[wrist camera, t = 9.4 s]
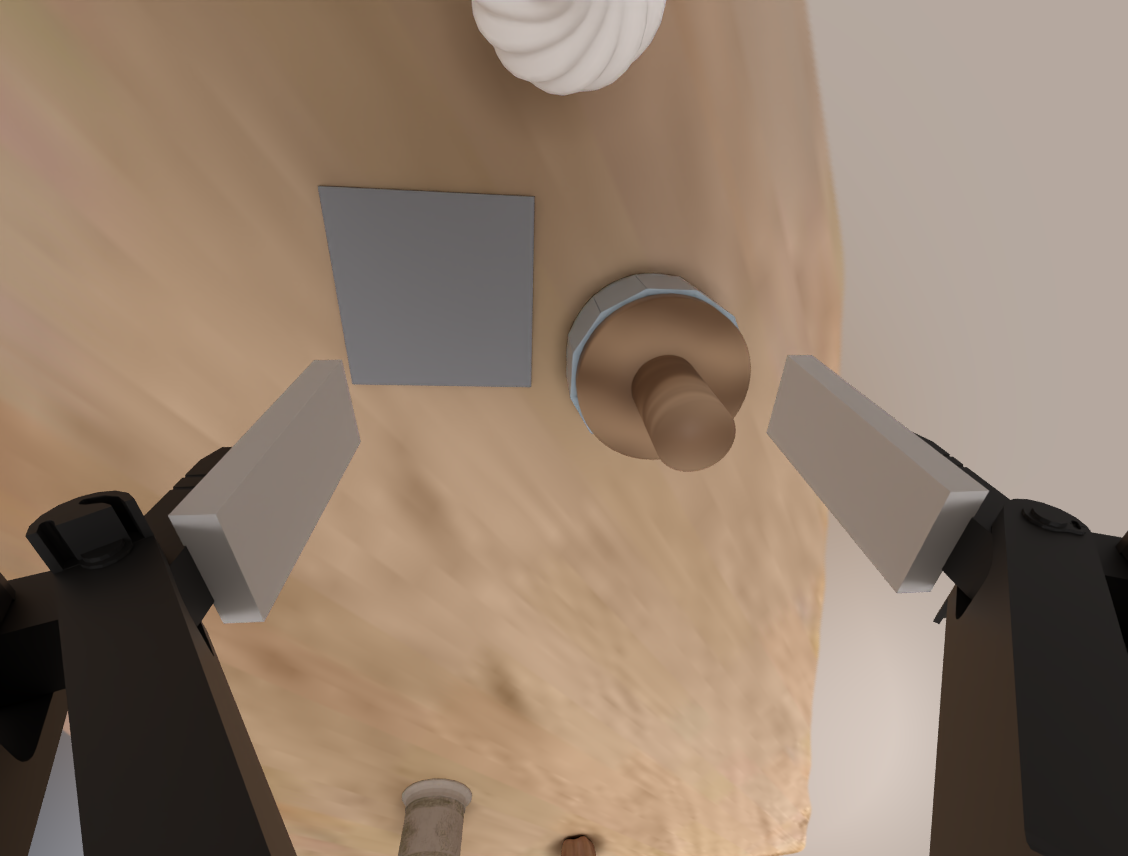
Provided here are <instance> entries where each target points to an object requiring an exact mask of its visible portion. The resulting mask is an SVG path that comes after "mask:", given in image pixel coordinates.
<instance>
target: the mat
mask: <svg viewBox="0 0 1128 856" xmlns="http://www.w3.org/2000/svg"><path fill="white" fill-rule="evenodd" d="M318 190H319V196H320V202H321V207H322V213H323V219H324V225H325V230H326V236H327V242H328V247H329V253H330V259H331V264H332V270H333V276H334V281H335V287H336V293H337V299H338V304H339V310H340V316H341V321H342V327H343V333H344V338H345V344H346V350H347V356H348V361H349V367H350V373H351V378H352V384H366V385H428V386H491V387H531V357H532V302H533V248H534V196H515V195H495V194H475V193H454V192H434V191H414V190H394V189H373V188H353V187H333V186H318Z"/></svg>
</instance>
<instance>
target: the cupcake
mask: <svg viewBox="0 0 1128 856" xmlns="http://www.w3.org/2000/svg"><path fill="white" fill-rule="evenodd" d="M561 856H596V853H595V849H594V845H593V843H592V842H591V841H590V840H588V839H587V838H586V837H585V836H581V837H579V838H577V839H566V840H565V841H564V843H563V846H562V853H561Z"/></svg>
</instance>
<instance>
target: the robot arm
mask: <svg viewBox="0 0 1128 856" xmlns="http://www.w3.org/2000/svg"><path fill="white" fill-rule="evenodd" d="M767 434H768V435H769V437H770V438H771V439H772V440H773V442H774V443H775V444H776V445H777V446H778V448H779V449H780V450H781V451H782V453H783V454H784V455H785V456H786V458H787V459H788V460H789V461H790V462H791V464H792V465H793V466H794V467H795V469H796V470H797V471H798V472H799V474H800V475H801V476H802V477H803V478H804V480H805V481H806V482H807V483H808V485H809V486H810V487H811V488H812V490H813V491H814V492H815V493H816V494H817V496H818V497H819V498H820V499H821V501H822V502H823V503H824V504H825V506H826V507H827V508H828V509H829V510H830V512H831V513H832V514H833V515H834V517H835V518H836V519H837V520H838V521H839V523H840V524H841V525H842V526H843V528H844V529H845V530H846V531H847V533H848V534H849V535H850V536H851V538H852V539H853V540H854V541H855V543H856V544H857V545H858V546H859V547H860V549H861V550H862V551H863V552H864V554H865V555H866V556H867V557H868V558H869V560H870V561H871V562H872V563H873V565H874V566H875V567H876V568H877V570H878V571H879V572H880V573H881V574H882V576H883V577H884V578H885V579H886V581H887V582H888V583H889V584H890V586H891V587H892V588H893V589H894V590H895V592H896V593H914V592H930V591H931V590H932V588H933V586H934V585H935V583H936V581H937V580H938V578H939V576H940V574H941V573H942V571H944V573H946V575H947V576H948V577H949V578H950V579H951V580H952V581H953V582H954V583H955V586H954V588H953V589H952V591H951V593H950V594H949V596H948V597H947V599H946V600H945V602H944V604H943V605H942V607H941V609H940V610H939V612H938V613H937V615H936V617H935V619H934V621H933V622H936V623H938V624H940V622H941V621H942V619H943V618H946V631H945V645H944V659H943V674H942V687H941V701H940V715H939V729H938V743H937V758H936V772H935V785H934V799H933V815H932V827H931V841H930V855H929V856H1128V531H1127V533H1126V534H1125V535H1124V536H1123V538H1121V537H1115V536H1110V535H1104V534H1098V533H1092V532H1091V531H1090V530H1089V529H1088V527H1087V526H1086V525H1085V524H1083V523H1082V522H1081V521H1080V520H1078V519H1077V518H1076V517H1074V516H1072V515H1070V514H1068V513H1066V512H1065V511H1062V510H1061V509H1058V508H1056V507H1053V506H1050V505H1047V504H1045V503H1042V502H1037V501H1033V500H1028V499H1013V500H1010V499H1008V498H1007V497H1006V496H1004V495H1003V494H1002V493H1000V492H999V491H998V490H996V489H995V488H994V487H992V486H991V485H990V484H988V483H987V482H986V481H984V480H983V479H982V478H980V477H979V476H978V475H976V474H975V473H974V472H972V471H971V470H970V469H968V468H967V467H963V464H962V463H960V462H959V461H958V460H957V459H955V458H954V457H950V456H949V455H950V454H948V453H947V452H946V451H945V450H943V449H942V448H941V447H939V446H938V445H936V444H935V443H934V442H932V441H930V440H928V439H926V438H924V437H922V436H920V435H918V434H916V433H914V432H912V431H910V430H909V429H908V428H906V427H905V426H904V425H903V424H901V423H900V422H899V421H897V420H896V419H895V418H893V417H892V416H891V415H889V414H888V413H887V412H886V411H884V410H883V409H882V408H880V407H879V406H878V405H876V404H875V403H874V402H872V401H871V400H870V399H869V398H867V397H866V396H865V395H863V394H862V393H861V392H859V391H858V390H857V389H856V388H854V387H853V386H852V385H850V384H849V383H847V382H846V381H845V380H844V379H842V378H841V377H840V376H839V375H837V374H836V373H835V372H833V371H832V370H831V369H829V368H828V367H827V366H825V365H824V364H823V363H822V362H820V361H819V360H818V359H816V358H815V357H814V356H812V355H787V359H786V363H785V366H784V370H783V374H782V378H781V381H780V385H779V389H778V392H777V396H776V400H775V404H774V407H773V411H772V415H771V419H770V422H769V426H768V430H767ZM360 442H361V440H360V436H359V432H358V427H357V423H356V419H355V414H354V410H353V406H352V401H351V397H350V393H349V388H348V384H347V380H346V375H345V371H344V367H343V362H342V360H314V361H313V362H312V363H311V364H310V365H309V366H308V367H307V368H306V369H305V370H304V371H303V373H302V374H301V375H300V376H299V377H298V378H297V379H296V380H295V381H294V382H293V383H292V384H291V385H290V386H289V387H288V388H287V390H286V391H285V392H284V393H283V394H282V395H281V396H280V397H279V398H278V399H277V400H276V401H275V402H274V403H273V404H272V405H271V407H270V408H269V409H268V410H267V411H266V412H265V413H264V414H263V415H262V416H261V417H260V418H259V419H258V420H257V421H256V423H255V424H254V425H253V426H252V427H251V428H250V429H249V430H248V431H247V432H246V433H245V434H244V435H243V436H242V437H241V438H240V440H239V441H238V442H237V443H236V444H235V445H234V446H233V447H222V448H220V449H218V450H217V451H215V452H213V453H211V454H210V455H208V456H206V457H205V458H203V459H201V460H200V461H199V462H198V463H197V464H196V465H195V466H194V467H193V468H192V469H191V470H190V471H189V472H188V473H187V474H186V475H185V478H182V479H181V480H180V481H179V482H178V483H177V484H176V485H175V486H174V487H173V490H170V491H169V492H168V493H167V494H166V495H165V496H164V497H163V498H162V499H161V500H160V501H159V502H158V503H157V504H156V505H155V506H154V507H153V508H152V509H151V510H150V511H149V512H148V513H147V514H146V515H145V516H143V514H142V512H141V510H140V508H139V507H138V505H137V503H136V501H135V499H134V498H133V497H132V496H131V495H130V494H129V493H126V492H120V491H106V492H97V493H93V494H89V495H85V496H81V497H78V498H75V499H73V500H70V501H68V502H65V503H63V504H60V505H58V506H56V507H55V508H53V509H51V510H50V511H48V512H46V513H44V514H43V515H41V516H40V517H39V518H38V519H37V520H36V521H35V522H33V523H32V524H31V525H30V526H29V528H28V531H27V533H26V538H27V539H28V540H29V542H30V543H31V545H32V546H33V547H34V549H35V550H36V551H37V553H38V554H39V555H40V557H41V558H42V560H43V561H44V562H45V564H46V565H47V566H48V568H49V569H50V571H48V572H43V573H39V574H35V575H31V576H26V577H22V578H18V579H13V580H9V581H7V580H6V579H5V578H4V576H3V575H2V574H1V573H0V856H28V853H29V849H30V845H31V842H32V838H33V835H34V831H35V827H36V824H37V820H38V816H39V813H40V809H41V805H42V802H43V798H44V795H45V791H46V787H47V784H48V780H49V776H50V772H51V769H52V765H53V762H54V758H55V754H56V751H57V747H58V744H59V740H60V736H61V733H62V729H63V725H64V722H65V718H66V715H67V711H68V714H69V723H70V732H71V742H72V751H73V759H74V769H75V778H76V787H77V796H78V806H79V815H80V825H81V834H82V843H83V852H84V856H297V855H296V852H295V850H294V847H293V845H292V842H291V840H290V837H289V835H288V832H287V830H286V827H285V825H284V822H283V820H282V817H281V815H280V812H279V810H278V807H277V805H276V802H275V800H274V797H273V795H272V792H271V790H270V787H269V785H268V782H267V780H266V777H265V775H264V772H263V770H262V767H261V765H260V762H259V760H258V757H257V755H256V752H255V750H254V747H253V745H252V742H251V740H250V737H249V735H248V732H247V730H246V727H245V725H244V722H243V720H242V717H241V715H240V712H239V710H238V707H237V705H236V702H235V700H234V697H233V695H232V692H231V690H230V687H229V685H228V682H227V680H226V677H225V675H224V672H223V670H222V667H221V665H220V662H219V660H218V657H217V655H216V652H215V650H214V647H213V645H212V642H211V640H210V637H209V635H208V632H207V630H206V628H205V627H204V625H203V623H202V619H203V618H204V616H205V615H206V613H207V612H208V610H209V609H210V607H211V606H212V604H214V606H215V608H216V610H217V612H218V613H219V615H220V617H221V619H222V621H223V623H244V622H264V621H265V619H266V617H267V615H268V613H269V612H270V610H271V608H272V606H273V604H274V602H275V600H276V599H277V597H278V595H279V593H280V591H281V589H282V587H283V586H284V584H285V582H286V580H287V578H288V576H289V574H290V573H291V571H292V569H293V567H294V565H295V563H296V561H297V559H298V558H299V556H300V554H301V552H302V550H303V548H304V546H305V545H306V543H307V541H308V539H309V537H310V535H311V533H312V532H313V530H314V528H315V526H316V524H317V522H318V520H319V518H320V517H321V515H322V513H323V511H324V509H325V507H326V505H327V504H328V502H329V500H330V498H331V496H332V494H333V492H334V491H335V489H336V487H337V485H338V483H339V481H340V479H341V478H342V476H343V474H344V472H345V470H346V468H347V466H348V464H349V463H350V461H351V459H352V457H353V455H354V453H355V451H356V450H357V448H358V446H359V444H360Z"/></svg>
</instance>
